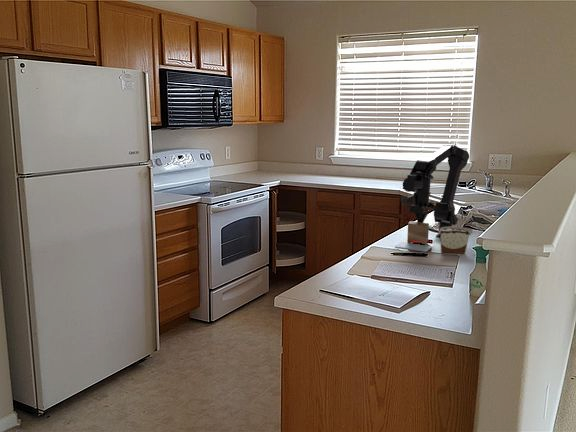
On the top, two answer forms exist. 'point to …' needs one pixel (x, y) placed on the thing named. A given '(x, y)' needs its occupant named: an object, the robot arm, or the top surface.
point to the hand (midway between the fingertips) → (419, 226)
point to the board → (413, 246)
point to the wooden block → (418, 232)
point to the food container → (454, 240)
